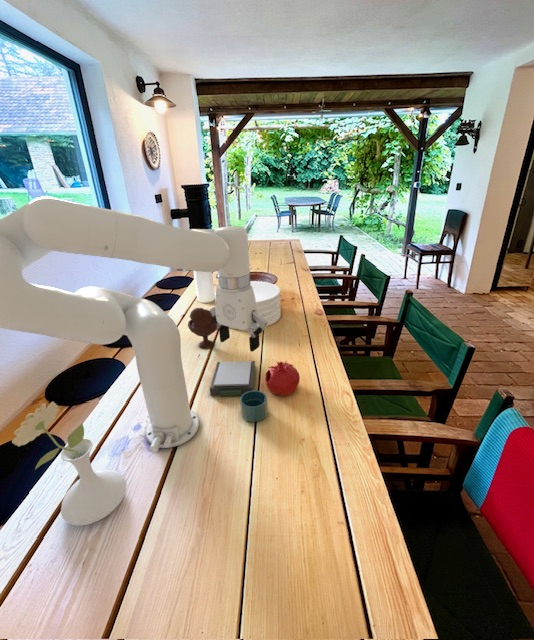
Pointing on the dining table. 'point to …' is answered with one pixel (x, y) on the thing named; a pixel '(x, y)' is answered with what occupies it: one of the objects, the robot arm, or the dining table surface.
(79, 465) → the flower in vase
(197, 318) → the ice cream bowl
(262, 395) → the teal cup
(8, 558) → the dining table surface
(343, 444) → the dining table surface
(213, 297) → the alcohol
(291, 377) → the pomegranate
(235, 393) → the scale
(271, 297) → the plate stack
